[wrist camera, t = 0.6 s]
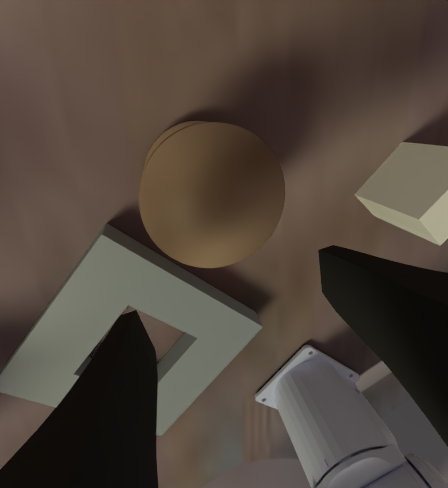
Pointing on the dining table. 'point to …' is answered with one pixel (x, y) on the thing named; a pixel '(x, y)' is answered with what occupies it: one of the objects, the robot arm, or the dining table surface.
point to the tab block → (411, 190)
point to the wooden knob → (210, 193)
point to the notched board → (110, 308)
